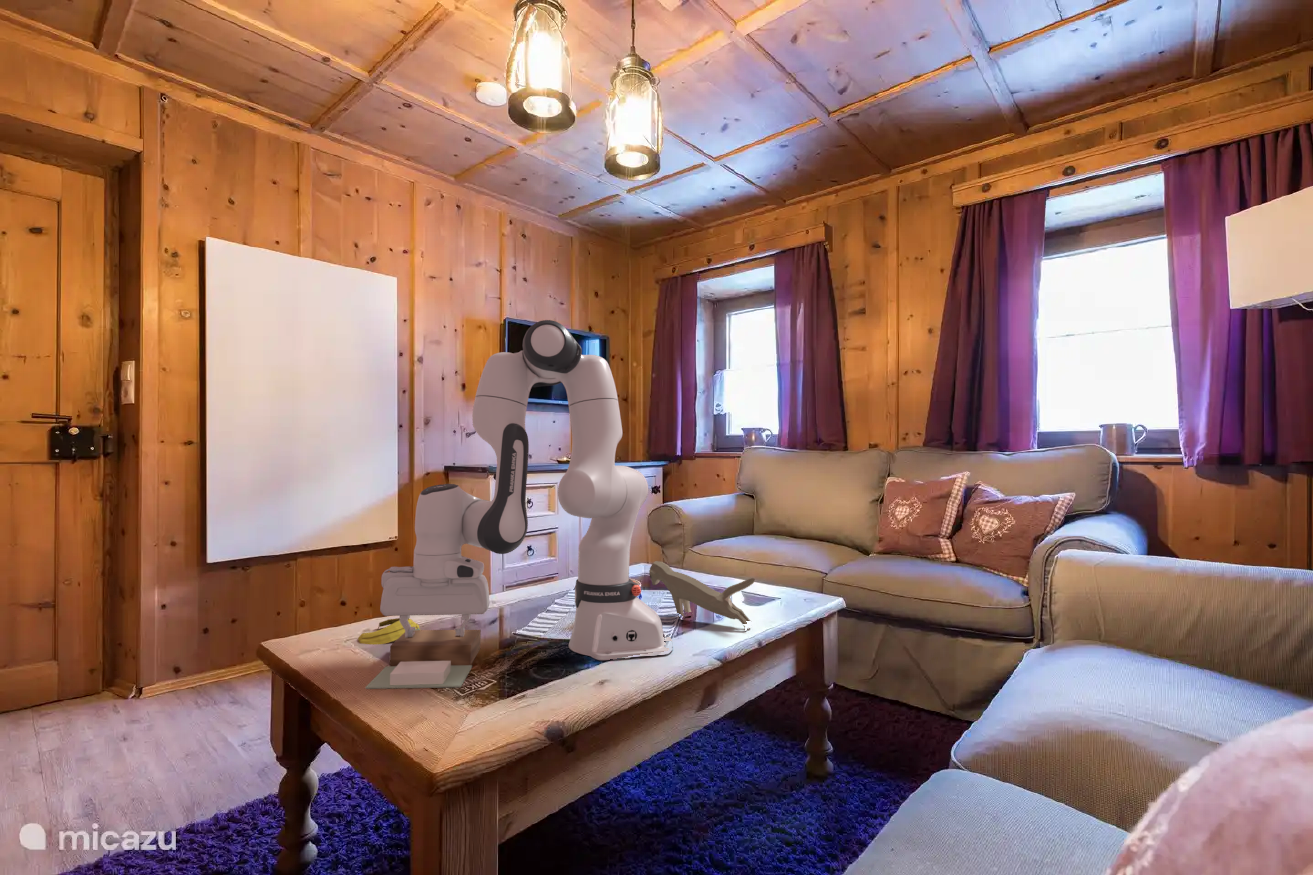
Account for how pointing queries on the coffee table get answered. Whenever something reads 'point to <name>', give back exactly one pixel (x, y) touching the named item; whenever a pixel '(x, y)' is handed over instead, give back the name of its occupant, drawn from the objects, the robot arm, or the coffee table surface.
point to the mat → (452, 680)
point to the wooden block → (436, 647)
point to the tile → (420, 672)
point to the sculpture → (698, 592)
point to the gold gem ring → (386, 632)
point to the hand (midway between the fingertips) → (435, 636)
